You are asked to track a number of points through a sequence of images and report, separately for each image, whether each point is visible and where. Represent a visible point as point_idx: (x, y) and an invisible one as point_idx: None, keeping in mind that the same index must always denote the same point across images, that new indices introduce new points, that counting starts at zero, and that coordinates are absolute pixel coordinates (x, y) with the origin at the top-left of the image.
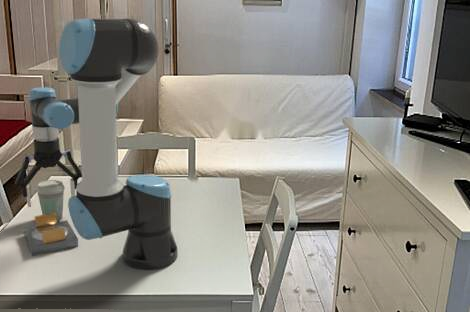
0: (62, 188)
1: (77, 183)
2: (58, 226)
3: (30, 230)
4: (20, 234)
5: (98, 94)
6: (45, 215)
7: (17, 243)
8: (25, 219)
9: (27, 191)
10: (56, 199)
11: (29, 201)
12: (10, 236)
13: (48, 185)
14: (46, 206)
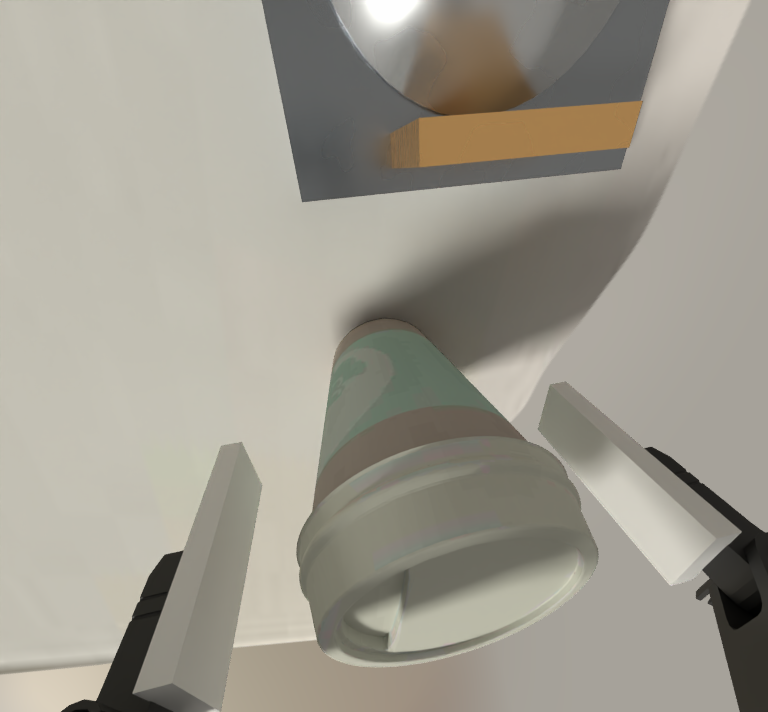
0: (321, 538)
1: (123, 637)
2: (387, 43)
3: (607, 85)
4: (585, 202)
5: None
6: (536, 120)
7: (661, 37)
8: (501, 382)
9: (689, 489)
10: (388, 405)
11: (589, 412)
12: (635, 194)
13: (488, 582)
14: (454, 372)
